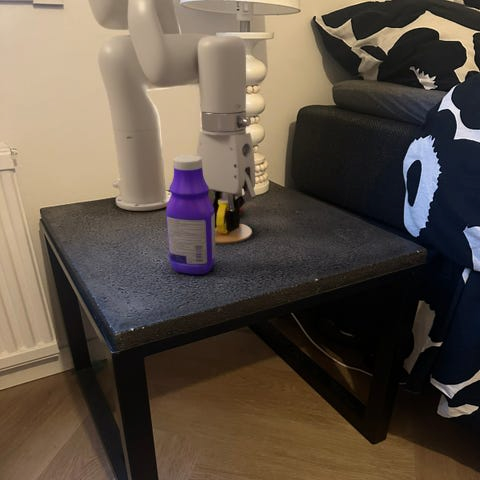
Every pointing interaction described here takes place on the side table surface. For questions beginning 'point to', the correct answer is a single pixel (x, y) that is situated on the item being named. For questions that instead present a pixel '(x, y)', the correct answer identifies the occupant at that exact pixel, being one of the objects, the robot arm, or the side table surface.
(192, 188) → the bottle
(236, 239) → the coaster
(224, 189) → the robot arm
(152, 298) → the side table surface
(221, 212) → the watch
